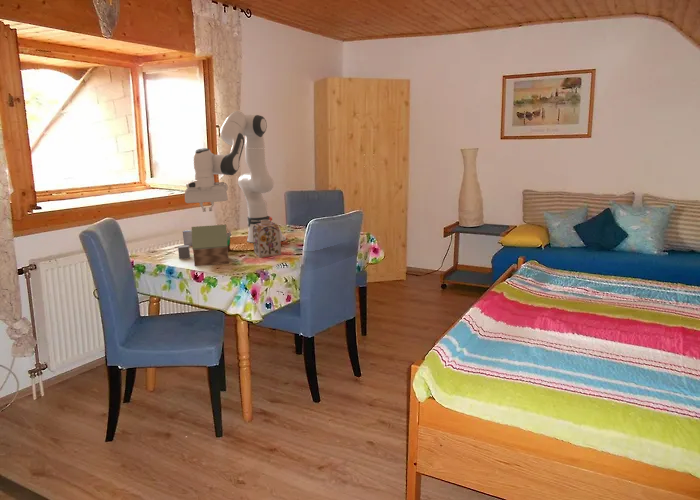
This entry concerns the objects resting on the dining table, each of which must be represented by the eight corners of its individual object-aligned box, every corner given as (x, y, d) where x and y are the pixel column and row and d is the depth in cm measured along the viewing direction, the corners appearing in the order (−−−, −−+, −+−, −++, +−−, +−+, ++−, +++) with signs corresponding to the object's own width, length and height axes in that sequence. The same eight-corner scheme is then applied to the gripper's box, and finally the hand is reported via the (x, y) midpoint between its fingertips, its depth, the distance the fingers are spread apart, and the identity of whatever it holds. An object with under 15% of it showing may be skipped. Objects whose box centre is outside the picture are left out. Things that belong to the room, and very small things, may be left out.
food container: (212, 254, 286) (210, 235, 284) (209, 251, 292) (207, 233, 290) (235, 250, 292) (233, 232, 290) (232, 248, 297) (230, 230, 295)
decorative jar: (253, 253, 286) (251, 219, 281) (275, 250, 290) (273, 217, 286) (259, 257, 275) (257, 222, 271) (281, 255, 279) (279, 220, 275)
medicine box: (200, 244, 311) (198, 229, 309) (197, 246, 307) (195, 231, 305) (186, 244, 312) (185, 229, 310) (183, 246, 308) (182, 231, 306)
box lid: (226, 225, 269) (225, 224, 268) (227, 246, 264) (227, 246, 263) (191, 227, 266) (191, 226, 265) (192, 249, 261) (192, 248, 260)
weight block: (190, 256, 283) (188, 244, 282) (189, 258, 278) (188, 246, 277) (180, 256, 282) (178, 245, 281) (179, 259, 277) (178, 247, 276)
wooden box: (228, 257, 277) (227, 242, 275) (228, 263, 266) (227, 247, 264) (195, 260, 274) (194, 244, 272) (194, 265, 263) (193, 249, 261)
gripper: (227, 181, 267) (229, 209, 270) (183, 183, 263) (186, 211, 266) (227, 182, 261) (229, 210, 264) (182, 184, 257) (185, 213, 260)
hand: (207, 211), depth 265 cm, fingers closed
